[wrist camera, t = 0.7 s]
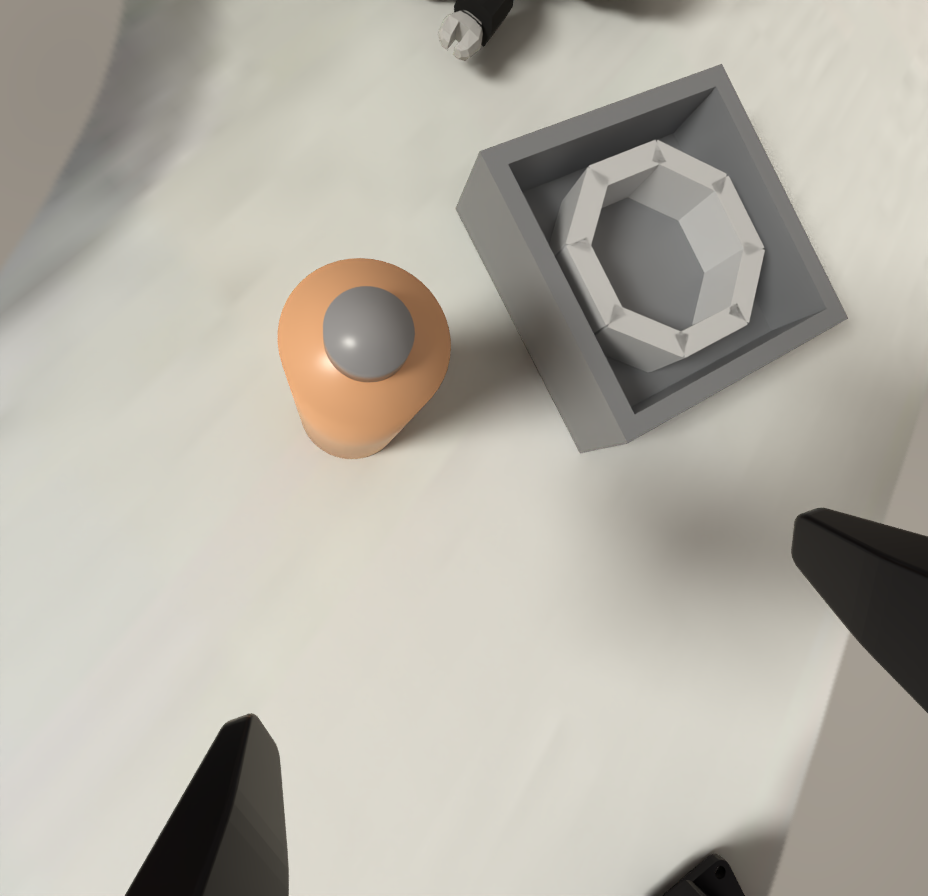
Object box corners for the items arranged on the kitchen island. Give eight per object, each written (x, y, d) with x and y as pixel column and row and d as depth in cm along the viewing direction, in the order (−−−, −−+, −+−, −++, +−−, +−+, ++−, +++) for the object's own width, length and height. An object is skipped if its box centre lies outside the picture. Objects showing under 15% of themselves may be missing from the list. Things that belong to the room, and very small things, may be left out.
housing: (774, 344, 27) (848, 318, 23) (579, 453, 24) (627, 443, 20) (665, 127, 27) (721, 63, 23) (455, 208, 24) (479, 151, 20)
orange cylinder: (418, 431, 23) (487, 373, 13) (328, 476, 22) (327, 451, 12) (373, 345, 23) (408, 218, 13) (282, 385, 22) (240, 282, 12)
